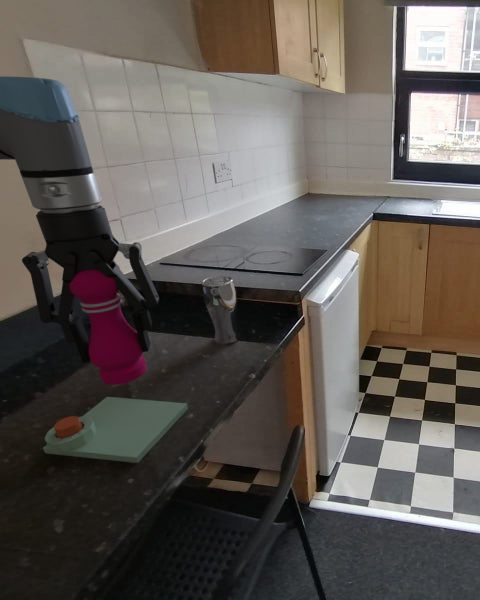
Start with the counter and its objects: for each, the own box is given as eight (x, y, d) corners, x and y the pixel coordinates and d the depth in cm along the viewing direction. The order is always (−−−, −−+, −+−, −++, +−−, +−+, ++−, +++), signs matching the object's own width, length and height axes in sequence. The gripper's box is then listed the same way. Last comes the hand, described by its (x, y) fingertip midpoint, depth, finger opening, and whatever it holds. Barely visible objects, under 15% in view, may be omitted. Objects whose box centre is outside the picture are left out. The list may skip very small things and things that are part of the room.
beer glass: (249, 335, 98) (240, 278, 92) (225, 348, 93) (213, 288, 87) (230, 329, 102) (220, 273, 96) (206, 340, 96) (193, 282, 90)
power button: (52, 437, 63) (48, 428, 62) (69, 423, 66) (66, 415, 65) (70, 439, 63) (66, 430, 62) (87, 425, 66) (84, 416, 65)
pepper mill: (127, 389, 62) (86, 266, 53) (86, 385, 63) (40, 263, 55) (160, 363, 68) (128, 250, 60) (122, 360, 69) (86, 248, 61)
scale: (41, 456, 63) (34, 441, 62) (108, 401, 75) (104, 388, 74) (135, 466, 61) (130, 451, 60) (188, 408, 74) (185, 395, 72)
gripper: (-43, 219, 48) (29, 380, 57) (151, 206, 55) (187, 351, 64) (-13, 208, 54) (48, 354, 63) (157, 198, 61) (189, 330, 70)
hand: (118, 352), depth 64 cm, fingers closed on pepper mill, 7 cm apart
